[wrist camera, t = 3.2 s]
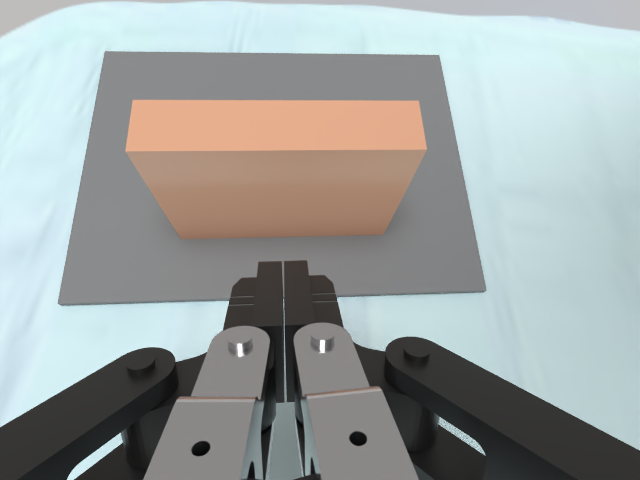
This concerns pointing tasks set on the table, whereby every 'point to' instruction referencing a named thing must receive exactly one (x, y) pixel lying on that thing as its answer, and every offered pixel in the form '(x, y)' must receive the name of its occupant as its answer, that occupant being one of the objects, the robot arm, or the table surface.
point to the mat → (244, 253)
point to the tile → (276, 164)
